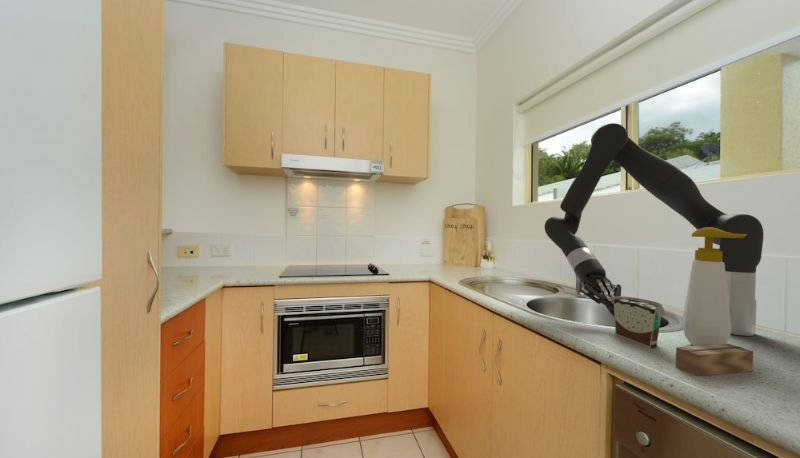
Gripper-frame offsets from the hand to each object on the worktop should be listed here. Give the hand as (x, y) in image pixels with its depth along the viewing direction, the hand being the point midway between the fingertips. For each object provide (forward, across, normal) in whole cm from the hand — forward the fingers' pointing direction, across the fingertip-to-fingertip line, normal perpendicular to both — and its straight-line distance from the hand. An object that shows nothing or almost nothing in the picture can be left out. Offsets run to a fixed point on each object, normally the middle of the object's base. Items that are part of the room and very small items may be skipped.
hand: (618, 315), depth 85 cm
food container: (+8, 0, -2) cm, 8 cm away
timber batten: (+19, -1, -13) cm, 23 cm away
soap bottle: (+13, +12, -6) cm, 19 cm away
